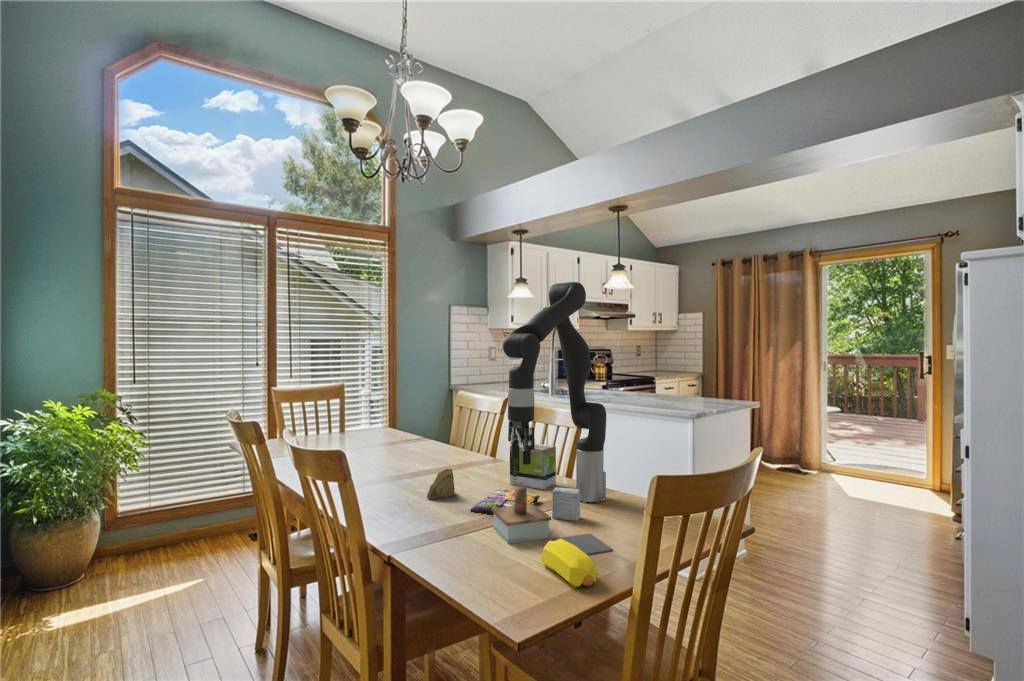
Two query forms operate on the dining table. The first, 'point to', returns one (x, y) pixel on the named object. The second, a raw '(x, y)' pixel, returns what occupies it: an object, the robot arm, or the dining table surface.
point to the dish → (521, 531)
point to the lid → (520, 510)
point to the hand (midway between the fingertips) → (520, 461)
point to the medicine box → (566, 504)
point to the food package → (500, 501)
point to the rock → (442, 485)
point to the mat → (587, 543)
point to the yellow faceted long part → (569, 562)
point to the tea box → (535, 468)
